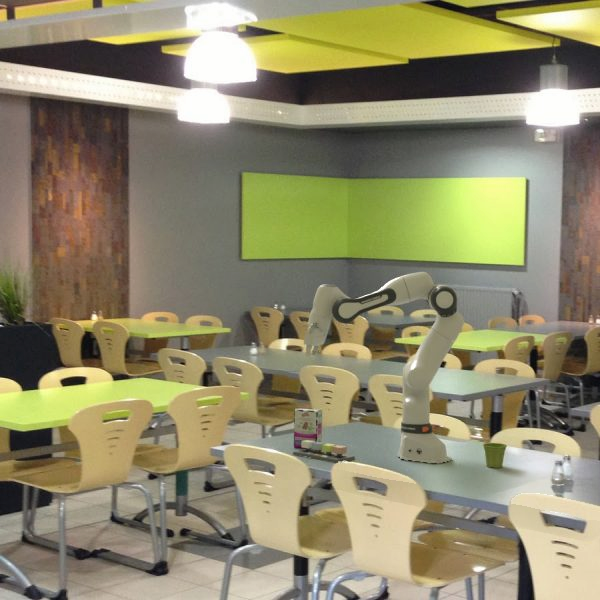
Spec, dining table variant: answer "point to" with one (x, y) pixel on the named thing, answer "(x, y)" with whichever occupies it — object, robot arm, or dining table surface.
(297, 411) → the candy bar box
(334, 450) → the salmon cube
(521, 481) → the dining table surface
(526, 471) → the dining table surface
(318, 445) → the key slate
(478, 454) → the dining table surface
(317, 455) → the keypad board
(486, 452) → the plant pot
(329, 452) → the lime green cube
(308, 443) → the key ivory
